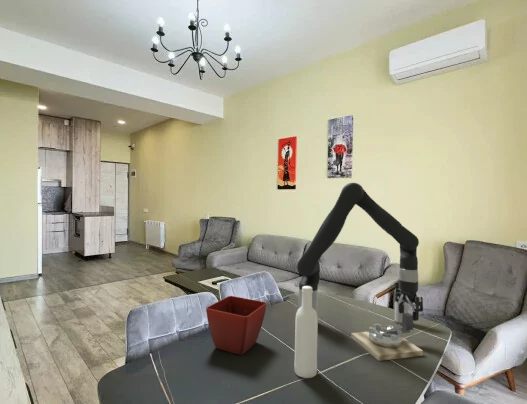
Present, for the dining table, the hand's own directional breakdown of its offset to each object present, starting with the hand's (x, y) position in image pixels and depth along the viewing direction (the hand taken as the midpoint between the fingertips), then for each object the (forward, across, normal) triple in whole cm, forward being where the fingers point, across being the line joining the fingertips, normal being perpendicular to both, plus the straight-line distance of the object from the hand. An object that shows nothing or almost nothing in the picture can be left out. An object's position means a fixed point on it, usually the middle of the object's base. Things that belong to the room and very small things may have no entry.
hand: (408, 316), depth 128 cm
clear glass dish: (+9, 0, -8) cm, 12 cm away
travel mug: (+12, -21, +13) cm, 27 cm away
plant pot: (+11, -13, -73) cm, 75 cm away
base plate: (+12, 0, -11) cm, 16 cm away
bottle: (+12, +11, -52) cm, 54 cm away
